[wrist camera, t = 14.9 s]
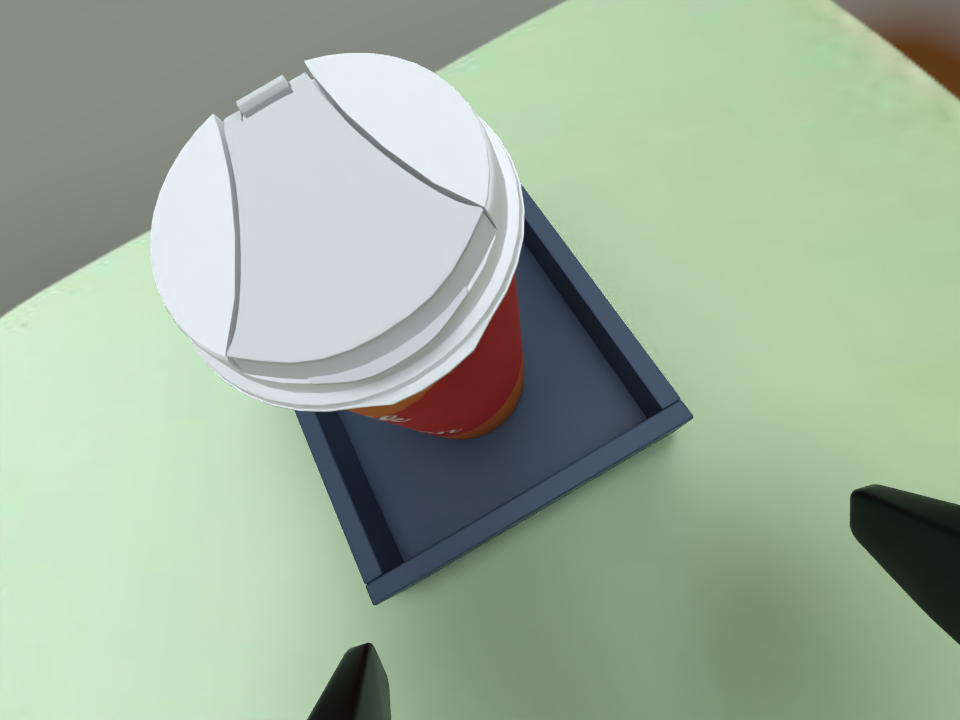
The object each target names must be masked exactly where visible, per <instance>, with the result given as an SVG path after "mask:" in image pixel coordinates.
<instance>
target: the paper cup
mask: <svg viewBox="0 0 960 720" xmlns="http://www.w3.org/2000/svg"><path fill="white" fill-rule="evenodd" d="M305 64H306V65H307V67H308V69H309V71H310V72H311V74H312V76H313V77H314V79H313V80H311V79H310V78H309V77H308V75H307V74H306V73H303V74H302V75H300V76H298V77H296V78H294V79H293V80H291V81H289V82H288V83H287V81H286V79H285V78H284V76H283V75H281V76H279V77H278V78H276V79H274V80H273V81H271V82H269V83H267V84H266V85H264V86H262V87H260V88H259V89H257V90H255V91H254V92H252V93H250V94H248V95H247V96H245V97H243V98H241V99H240V100H238V101H237V102H236V104H237V106H238V108H239V109H240V110H239V111H237V112H236V113H234V114H232V115H230V116H229V117H227V118H225V120H224V123H223V122H222V121H221V120H220V119H219V118H218V117H217V116H216V115H215V116H214V114H212V115H211V116H210V117H209V118H208V119H207V120H206V121H205V122H204V123H203V124H202V125H201V126H200V127H199V129H198V130H197V131H196V132H195V133H194V135H193V136H192V137H191V139H190V140H189V141H188V142H187V144H186V145H185V146H184V147H183V149H182V150H181V152H180V154H179V155H178V157H177V159H176V160H175V162H174V164H173V165H172V167H171V169H170V170H169V172H168V175H167V177H166V179H165V181H164V184H163V186H162V188H161V190H160V193H159V196H158V200H157V203H156V207H155V210H154V214H153V220H152V227H151V234H150V256H151V265H152V270H153V275H154V280H155V284H156V286H157V289H158V291H159V293H160V296H161V298H162V301H163V303H164V305H165V307H166V309H167V311H168V312H169V314H170V315H171V317H172V318H173V320H174V321H175V322H176V324H177V325H178V327H179V328H180V330H181V331H182V332H183V333H184V334H186V335H187V336H188V337H189V338H190V340H191V341H192V344H193V345H194V347H195V348H196V350H197V351H198V352H199V354H200V355H201V357H202V358H203V360H204V361H205V363H206V364H207V365H208V366H209V367H210V368H211V369H212V370H213V371H214V372H215V373H216V374H217V375H218V376H219V377H220V378H221V379H222V380H223V381H225V382H226V383H228V384H229V385H231V386H233V387H234V388H236V389H237V390H239V391H240V392H242V393H243V394H245V395H247V396H250V397H252V398H254V399H257V400H259V401H262V402H264V403H267V404H269V405H272V406H277V407H282V408H287V409H292V410H297V411H315V412H332V411H339V410H347V411H351V412H354V413H358V414H361V415H364V416H368V417H371V418H375V419H378V420H381V421H385V422H388V423H392V424H395V425H399V426H402V427H406V428H409V429H413V430H416V431H420V432H423V433H427V434H431V435H435V436H439V437H443V438H449V439H459V440H464V439H472V438H477V437H480V436H483V435H485V434H488V433H490V432H492V431H493V430H495V429H496V428H498V427H499V426H500V425H502V424H503V423H504V422H505V421H506V420H507V419H508V418H509V416H510V415H511V414H512V412H513V411H514V409H515V408H516V406H517V404H518V401H519V399H520V396H521V393H522V388H523V379H524V366H523V351H522V340H521V329H520V318H519V307H518V297H517V287H516V277H515V271H516V268H517V266H518V262H519V257H520V252H521V248H522V243H523V238H524V214H525V209H524V202H523V196H522V189H521V183H520V180H519V177H518V174H517V171H516V168H515V166H514V163H513V160H512V158H511V156H510V155H509V153H508V151H507V150H506V148H505V146H504V144H503V143H502V141H501V139H500V138H499V137H498V136H497V135H496V134H495V132H494V131H493V130H492V129H491V128H490V127H489V126H488V124H487V123H486V122H485V121H484V120H482V119H481V118H480V117H479V116H478V115H477V114H476V112H475V111H474V109H473V108H472V106H471V105H470V104H469V103H468V102H467V101H466V100H465V99H464V97H463V96H462V95H461V94H460V93H459V92H458V91H457V90H456V89H455V88H454V87H452V86H451V85H450V84H449V83H447V82H446V81H445V80H443V79H442V78H441V77H439V76H438V75H437V74H435V73H433V72H431V71H430V70H428V69H426V68H424V67H422V66H420V65H418V64H416V63H413V62H410V61H406V60H403V59H400V58H397V57H393V56H387V55H379V54H373V53H345V54H336V55H328V56H322V57H319V58H314V59H310V60H306V61H305ZM290 86H292V87H290ZM243 115H244V116H243Z"/></svg>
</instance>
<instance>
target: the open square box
mask: <svg viewBox="0 0 960 720" xmlns="http://www.w3.org/2000/svg"><path fill="white" fill-rule="evenodd" d="M521 189H522V196H523V202H524V209H525V214H524V238H523V243H522V248H521V252H520V257H519V262H518V266H517V268H516V271H515V277H516V287H517V297H518V307H519V318H520V329H521V340H522V351H523V366H524V379H523V388H522V393H521V396H520V399H519V401H518V404H517V406H516V408H515V409H514V411H513V412H512V414H511V415H510V416H509V418H508V419H507V420H506V421H505V422H504V423H503V424H502V425H500V426H499V427H498V428H496V429H495V430H493V431H492V432H490V433H488V434H485V435H483V436H480V437H477V438H472V439H464V440H459V439H449V438H443V437H439V436H435V435H431V434H427V433H423V432H420V431H416V430H413V429H409V428H406V427H402V426H399V425H395V424H392V423H388V422H385V421H381V420H378V419H375V418H371V417H368V416H364V415H361V414H358V413H354V412H351V411H347V410H339V411H332V412H315V411H297V410H295V413H296V415H297V418H298V420H299V423H300V425H301V428H302V430H303V433H304V435H305V437H306V440H307V442H308V445H309V447H310V450H311V452H312V455H313V457H314V460H315V462H316V465H317V467H318V470H319V472H320V475H321V477H322V480H323V482H324V484H325V487H326V489H327V492H328V494H329V497H330V499H331V502H332V504H333V507H334V509H335V512H336V514H337V517H338V519H339V522H340V524H341V526H342V529H343V531H344V534H345V536H346V539H347V541H348V544H349V546H350V549H351V551H352V554H353V556H354V559H355V561H356V564H357V566H358V569H359V571H360V573H361V576H362V578H363V581H364V583H365V584H367V585H366V588H367V591H368V593H369V596H370V598H371V601H372V603H373V605H377V604H379V603H381V602H383V601H385V600H387V599H389V598H391V597H393V596H395V595H397V594H399V593H401V592H403V591H405V590H406V589H408V588H410V587H411V586H413V585H415V584H416V583H418V582H420V581H422V580H423V579H425V578H427V577H428V576H430V575H432V574H433V573H435V572H437V571H439V570H440V569H442V568H444V567H445V566H447V565H449V564H450V563H452V562H454V561H455V560H457V559H459V558H461V557H462V556H464V555H466V554H467V553H469V552H471V551H472V550H474V549H476V548H478V547H479V546H481V545H483V544H484V543H486V542H488V541H489V540H491V539H493V538H495V537H496V536H498V535H500V534H501V533H503V532H505V531H506V530H508V529H510V528H511V527H513V526H515V525H517V524H518V523H520V522H522V521H523V520H525V519H527V518H528V517H530V516H532V515H534V514H535V513H537V512H539V511H540V510H542V509H544V508H545V507H547V506H549V505H551V504H552V503H554V502H556V501H557V500H559V499H561V498H562V497H564V496H566V495H567V494H569V493H571V492H573V491H574V490H576V489H578V488H579V487H581V486H583V485H584V484H586V483H588V482H590V481H591V480H593V479H595V478H596V477H598V476H600V475H601V474H603V473H605V472H606V471H608V470H610V469H612V468H613V467H615V466H617V465H618V464H620V463H622V462H623V461H625V460H627V459H629V458H630V457H632V456H634V455H635V454H637V453H639V452H640V451H642V450H644V449H646V448H647V447H649V446H651V445H652V444H654V443H656V442H657V441H659V440H661V439H662V438H664V437H666V436H668V435H669V434H671V433H673V432H674V431H676V430H677V429H678V428H680V427H681V426H683V425H684V424H686V423H687V422H688V421H690V420H691V419H692V418H693V415H692V414H691V412H690V411H689V410H688V408H687V407H686V406H685V404H684V403H683V402H682V401H681V400H680V397H679V396H678V394H677V393H676V392H675V390H674V389H673V388H672V386H671V385H670V384H669V382H668V381H667V380H666V378H665V377H664V375H663V374H662V373H661V371H660V370H659V369H658V367H657V366H656V365H655V363H654V362H653V361H652V359H651V358H650V357H649V355H648V354H647V353H646V351H645V350H644V349H643V347H642V346H641V345H640V343H639V342H638V341H637V339H636V338H635V337H634V335H633V334H632V332H631V331H630V330H629V328H628V327H627V326H626V324H625V323H624V322H623V320H622V319H621V318H620V316H619V315H618V314H617V312H616V311H615V310H614V308H613V307H612V306H611V304H610V303H609V302H608V300H607V299H606V298H605V296H604V295H603V294H602V292H601V291H600V290H599V288H598V287H597V285H596V284H595V283H594V281H593V280H592V279H591V277H590V276H589V275H588V273H587V272H586V271H585V269H584V268H583V267H582V265H581V264H580V263H579V261H578V260H577V259H576V257H575V256H574V255H573V253H572V252H571V251H570V249H569V248H568V247H567V245H566V244H565V242H564V241H563V240H562V238H561V237H560V236H559V234H558V233H557V232H556V230H555V229H554V228H553V226H552V225H551V224H550V222H549V221H548V220H547V218H546V217H545V216H544V214H543V213H542V212H541V210H540V209H539V208H538V206H537V205H536V204H535V202H534V201H533V199H532V198H531V197H530V195H529V194H528V193H527V191H526V190H525V189H524V187H523V186H522V185H521Z"/></svg>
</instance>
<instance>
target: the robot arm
mask: <svg viewBox="0 0 960 720" xmlns="http://www.w3.org/2000/svg"><path fill="white" fill-rule="evenodd" d="M850 528H851V531H852V533H853V535H854V537H855V538H856V539H857V541H858V542H859V543H860V544H861V545H862V546H863V547H864V548H865V549H866V550H867V551H868V552H869V554H870V555H871V556H872V557H873V558H874V559H875V560H876V561H877V562H878V563H879V564H880V565H881V566H882V567H883V568H884V569H885V571H886V572H887V573H888V574H889V575H890V576H891V577H892V578H893V579H894V580H895V581H896V582H897V583H898V584H899V585H900V587H901V588H902V589H903V590H904V591H905V592H906V593H907V594H908V595H909V596H910V597H911V598H912V599H913V600H914V601H915V602H916V604H917V605H918V606H919V607H920V608H921V609H922V610H923V611H924V612H925V613H926V614H927V615H928V616H929V617H930V618H931V619H932V620H933V621H935V622H936V623H937V624H938V625H939V626H940V627H941V628H942V629H943V630H944V631H945V632H946V633H947V634H948V635H950V636H951V637H952V638H953V639H954V640H955V641H956V642H957V643H958V644H959V645H960V505H957V504H953V503H949V502H946V501H942V500H938V499H934V498H930V497H926V496H922V495H918V494H914V493H910V492H906V491H902V490H898V489H894V488H890V487H886V486H882V485H878V484H873V485H869V486H865V487H862V488H859V489H856V490H854V491H853V492H852V493H851V496H850ZM307 720H391V710H390V691H389V683H388V678H387V675H386V672H385V670H384V668H383V665H382V663H381V661H380V659H379V656H378V654H377V652H376V649H375V647H374V646H373V645H372V644H371V643H366V644H362V645H359V646H356V647H353V648H350V649H349V650H348V651H347V652H346V653H345V654H344V656H343V658H342V660H341V661H340V663H339V665H338V667H337V668H336V670H335V672H334V674H333V675H332V677H331V679H330V681H329V682H328V684H327V686H326V688H325V689H324V691H323V693H322V695H321V696H320V698H319V700H318V701H317V703H316V705H315V707H314V708H313V710H312V712H311V714H310V715H309V717H308V719H307Z"/></svg>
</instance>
